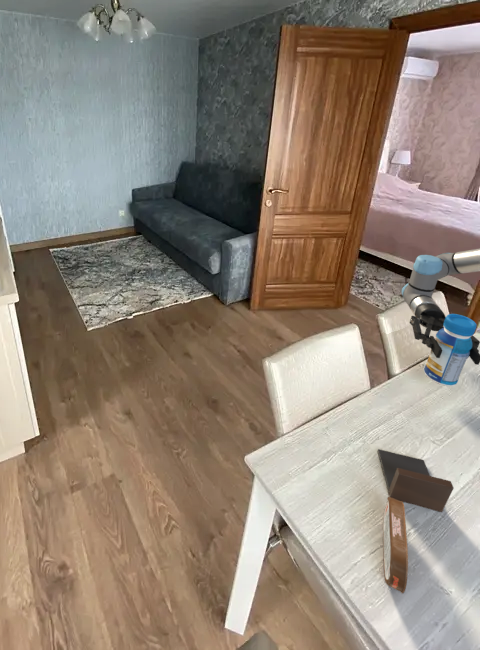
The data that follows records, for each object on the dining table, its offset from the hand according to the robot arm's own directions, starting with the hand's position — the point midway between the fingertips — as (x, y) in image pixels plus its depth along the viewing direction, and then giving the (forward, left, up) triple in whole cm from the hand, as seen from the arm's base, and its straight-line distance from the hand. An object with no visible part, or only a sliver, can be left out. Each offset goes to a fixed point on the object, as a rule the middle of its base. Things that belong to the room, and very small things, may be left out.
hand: (458, 357), depth 94 cm
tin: (-34, +38, -17) cm, 53 cm away
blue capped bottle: (+4, -2, -11) cm, 12 cm away
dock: (-20, +24, -17) cm, 36 cm away
